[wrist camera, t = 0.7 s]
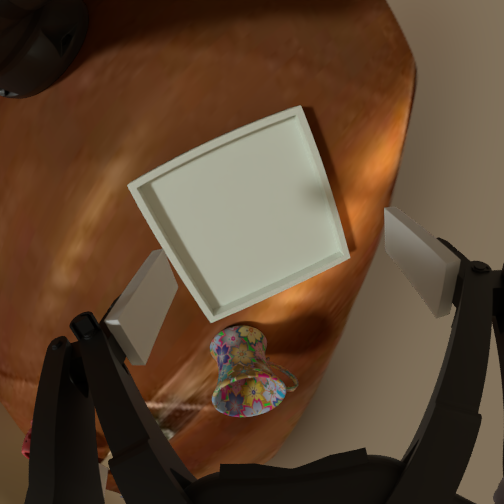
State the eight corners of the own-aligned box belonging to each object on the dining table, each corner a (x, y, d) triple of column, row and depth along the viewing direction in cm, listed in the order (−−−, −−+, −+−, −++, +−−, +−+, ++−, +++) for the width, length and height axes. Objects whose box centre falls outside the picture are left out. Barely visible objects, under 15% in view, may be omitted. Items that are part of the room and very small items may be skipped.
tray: (131, 181, 28) (126, 185, 26) (294, 106, 28) (300, 105, 26) (210, 313, 37) (210, 323, 35) (342, 251, 37) (350, 257, 35)
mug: (203, 361, 41) (207, 416, 32) (212, 316, 38) (218, 373, 28) (274, 365, 44) (291, 415, 35) (292, 323, 41) (316, 374, 31)
